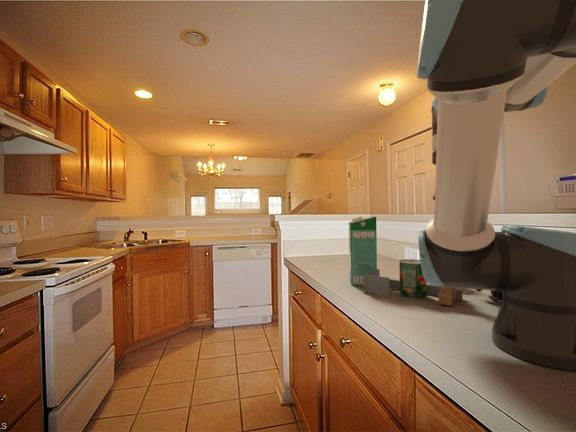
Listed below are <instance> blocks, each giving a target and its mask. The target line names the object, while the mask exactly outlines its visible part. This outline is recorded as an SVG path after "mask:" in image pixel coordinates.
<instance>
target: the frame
mask: <svg viewBox="0 0 576 432" xmlns="http://www.w3.org/2000/svg"><path fill="white" fill-rule="evenodd" d="M380 273H381V272H380V268H377V270H374V271H372V272H370V273H367V274H365V275H364V285H363V294H368V295H374V296H379V297H384V298H390V296H391V295H390V294H391V289H392V290H399V291H400V279H391V277H387V276H386V277H385V276H381V274H380ZM463 291H464V288H456V299H455V300H461V301H462V300H463V299H464V298H463V295H464V294H463ZM429 294H430V295H431V296H435V297H436V296H437V297H439V286H435V285H431V284H429V283H427V295H429Z"/></svg>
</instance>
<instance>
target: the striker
mask: <svg viewBox="0 0 576 432" xmlns="http://www.w3.org/2000/svg"><path fill="white" fill-rule="evenodd" d="M455 300H457V299H456V287H444V286H439V296H438V304H439V305H445V306H452V304H454V301H455Z"/></svg>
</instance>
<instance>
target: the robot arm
mask: <svg viewBox="0 0 576 432" xmlns="http://www.w3.org/2000/svg"><path fill="white" fill-rule="evenodd" d="M423 9H424V10H423V16H422V25H421V31H420V32H421V33H420V41H419V50H418V57H417V59H418V60H417V68H416V76H417V79H421V80H427V81H426V82H427V83H426V84H427V85H426V86H427V87H426V90H427V92H429V94H431V95H432V96H433V97H434V98H433V99H432V102H431V111H430V112H431V131H432V132H431V150H432V153H431V164H433V165H435V182H434V183H435V185H434V188H435V189H434V196H433V197H432V200H433V201H434V218H432V219H431V220H429V221H428V222H427V224H426V226H425V229H424V230H419V232H418V234H417V241H418V242H417V243H418V253H419V260H420V263H421V269H422V274H423V277H424V279H425V281H426V282H427V284H428V285H431V284H432V285H439V286H444V287H456V288H457V289H468V290H469V289H470V290H476V289H482V291H491V290H494V291H503V302H502V305H500V309H499V311H498V313H497V314H496V317H495V320H494V323H493V325H492V328H491V341H492V342H493V344H494V345H495V346H497V348H499V349H501V350H502V351H503V352H506V353H507V354H510V355H512V356H514V357H517V358H518V359H521V360H524V361H527V362H530V363H533V364H535V365H540V366H544V367H547V368H552V369H558V370H563V371H571V372H576V232H572V231H565V230H557V229H550V228H549V229H547V228H539V227H530V226H521V225H512V224H504V225H502V227H501V228H500V231H496V229H495V228H494V226H493V225H492V224H491V223H490V222H488V219H489V212H490V207H491V199H492V192H493V186H494V179H495V171H496V166H497V159H498V153H499V147H500V141H501V132H502V126H503V121H504V114H505V113H508V112H517V111H518V112H522V111H525V110H529V109H536V108H538V107H540V106H541V105H543V103H544V100H545V99H546V97H547V94H548V89H549V85H551V84H552V83H553V82H555V80H558V78H560V77H561V76H562V75H563V74H564V73H565V72H567V71H568V70H569V69H570V68H572V67H573V66H574V65H575V64H576V0H425V3H424V7H423Z"/></svg>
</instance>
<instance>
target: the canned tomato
mask: <svg viewBox="0 0 576 432" xmlns="http://www.w3.org/2000/svg"><path fill="white" fill-rule="evenodd" d="M399 281H400V290H399V297H401V298H403V299H406V300H410V301H424V300H428V294H427V284H428V283H427V282H426V281H425V279H424V277H423V274H422V269H421V263H420V259H414V258H413V259H412V258H409V259H407V258H406V259H400V260H399Z"/></svg>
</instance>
